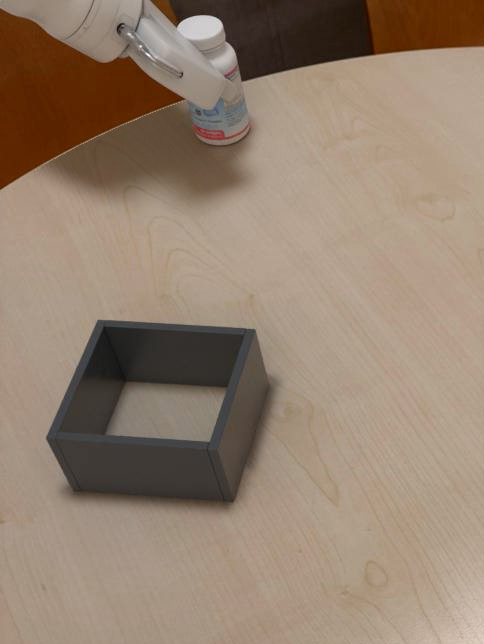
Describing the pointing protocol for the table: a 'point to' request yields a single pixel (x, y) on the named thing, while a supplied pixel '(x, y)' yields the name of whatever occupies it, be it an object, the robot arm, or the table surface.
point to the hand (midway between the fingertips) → (216, 75)
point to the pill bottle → (209, 38)
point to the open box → (169, 368)
